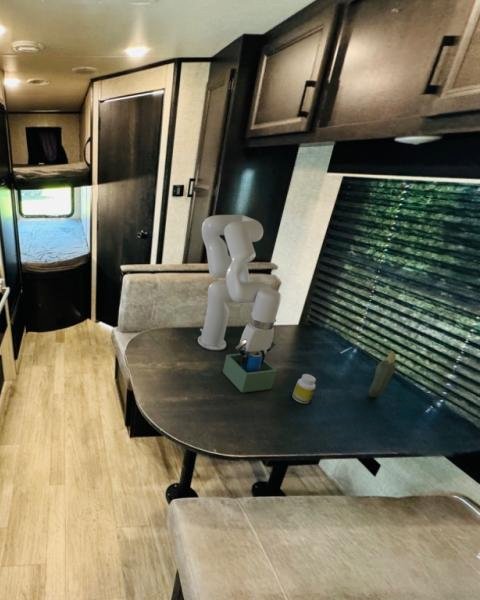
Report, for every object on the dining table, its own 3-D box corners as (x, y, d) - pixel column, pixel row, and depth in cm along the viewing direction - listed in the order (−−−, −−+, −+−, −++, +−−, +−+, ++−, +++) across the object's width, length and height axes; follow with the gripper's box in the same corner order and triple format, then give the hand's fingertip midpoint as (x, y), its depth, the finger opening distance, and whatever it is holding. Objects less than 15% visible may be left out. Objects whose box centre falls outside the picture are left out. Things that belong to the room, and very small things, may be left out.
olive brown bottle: (380, 403, 113) (404, 357, 104) (365, 399, 114) (388, 354, 106) (376, 395, 116) (399, 350, 108) (361, 392, 118) (383, 347, 109)
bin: (222, 372, 129) (226, 354, 126) (249, 368, 131) (254, 351, 127) (241, 392, 118) (246, 374, 114) (271, 388, 120) (277, 370, 116)
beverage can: (254, 384, 120) (261, 359, 115) (236, 378, 123) (242, 353, 118) (257, 376, 124) (264, 350, 119) (240, 370, 128) (246, 345, 123)
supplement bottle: (309, 406, 111) (317, 384, 107) (291, 399, 114) (299, 378, 110) (310, 397, 115) (318, 376, 111) (292, 391, 118) (300, 370, 114)
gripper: (275, 315, 118) (264, 355, 126) (233, 319, 116) (224, 359, 123) (290, 325, 111) (277, 366, 119) (246, 329, 109) (236, 371, 116)
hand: (250, 362), depth 121 cm, fingers closed on beverage can, 6 cm apart
